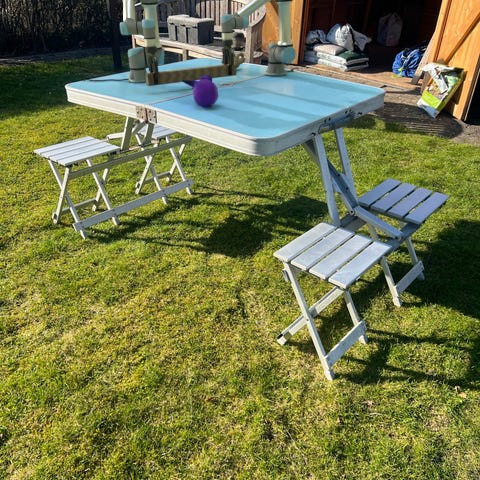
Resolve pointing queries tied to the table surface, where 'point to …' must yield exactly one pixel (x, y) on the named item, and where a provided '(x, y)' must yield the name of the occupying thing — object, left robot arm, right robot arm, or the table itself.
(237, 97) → the table surface
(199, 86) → the toy
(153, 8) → the left robot arm
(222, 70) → the bar
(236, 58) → the teapot
